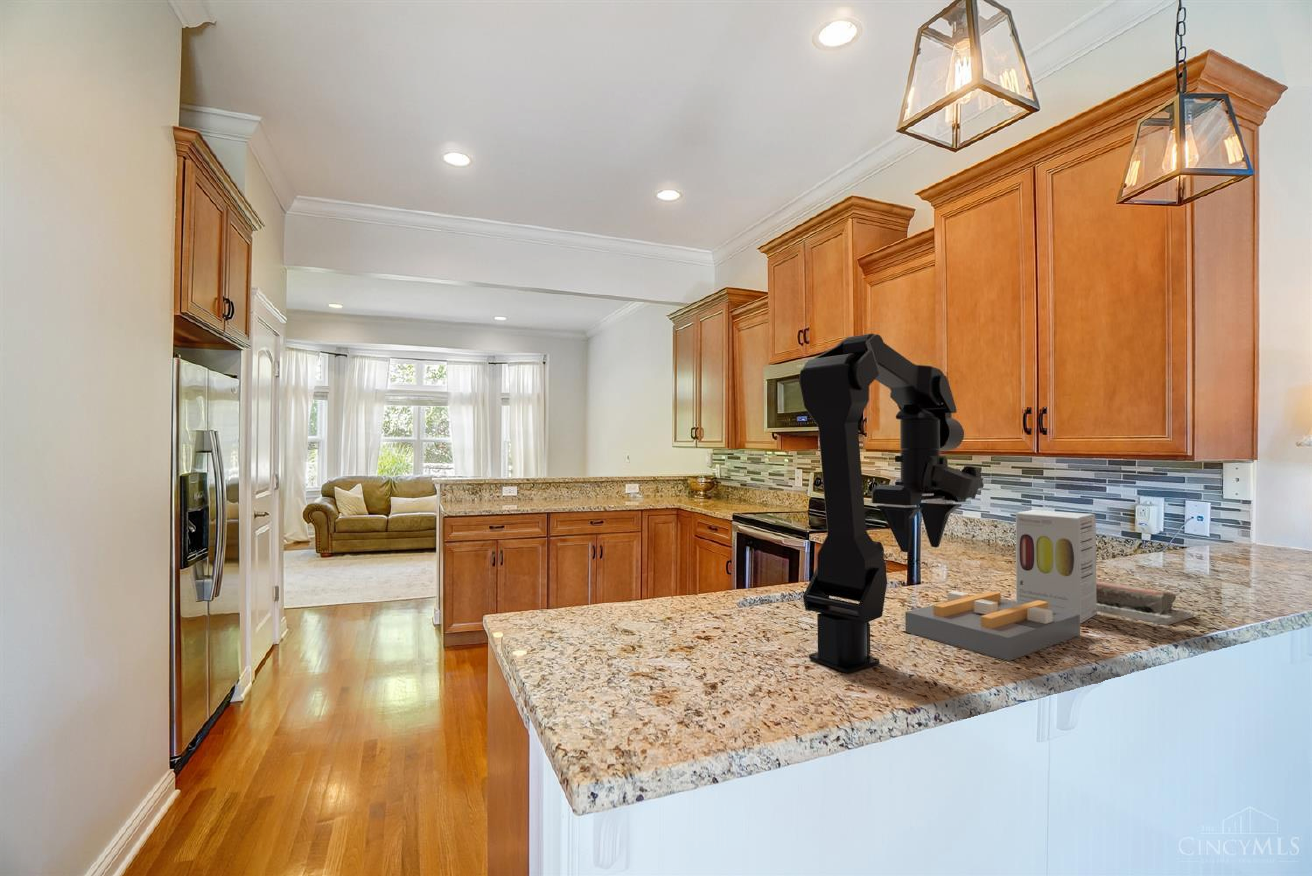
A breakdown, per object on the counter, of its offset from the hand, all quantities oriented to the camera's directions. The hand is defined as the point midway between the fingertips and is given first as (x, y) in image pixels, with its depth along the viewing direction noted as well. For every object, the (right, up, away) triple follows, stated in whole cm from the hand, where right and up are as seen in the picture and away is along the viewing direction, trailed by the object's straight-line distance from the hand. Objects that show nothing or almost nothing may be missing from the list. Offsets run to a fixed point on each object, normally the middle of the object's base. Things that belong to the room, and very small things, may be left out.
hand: (920, 549), depth 93 cm
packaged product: (+38, -13, +10) cm, 41 cm away
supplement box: (+26, -12, +7) cm, 29 cm away
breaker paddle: (+7, -8, -5) cm, 12 cm away
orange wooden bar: (+7, -9, -1) cm, 11 cm away
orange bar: (+11, -9, -7) cm, 15 cm away
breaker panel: (+9, -12, -4) cm, 15 cm away
